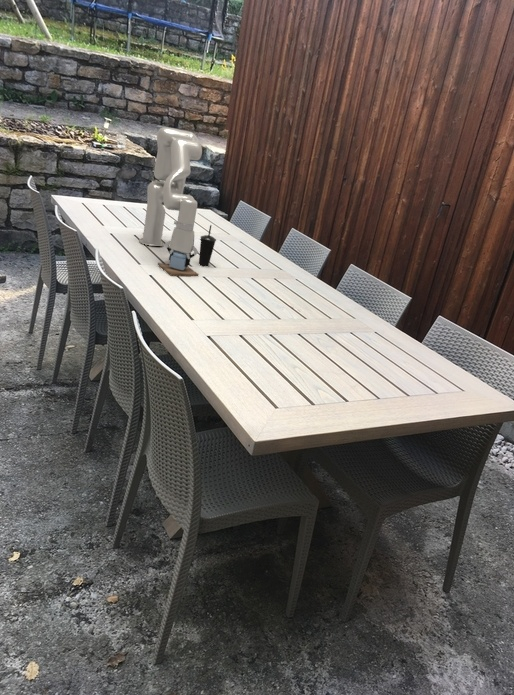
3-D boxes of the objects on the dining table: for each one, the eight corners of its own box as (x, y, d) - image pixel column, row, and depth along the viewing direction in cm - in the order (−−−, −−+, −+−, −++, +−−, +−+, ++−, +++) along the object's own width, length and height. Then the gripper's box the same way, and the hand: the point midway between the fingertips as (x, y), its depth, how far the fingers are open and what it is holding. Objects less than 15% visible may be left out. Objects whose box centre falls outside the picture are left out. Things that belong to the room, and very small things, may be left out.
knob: (169, 266, 265) (171, 251, 263) (174, 263, 272) (176, 248, 269) (183, 270, 265) (185, 254, 262) (187, 267, 271) (190, 251, 268)
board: (157, 265, 270) (158, 263, 270) (184, 266, 278) (185, 264, 278) (170, 276, 260) (170, 273, 259) (198, 276, 268) (198, 274, 267)
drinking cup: (212, 264, 291) (219, 225, 283) (209, 268, 284) (217, 228, 276) (197, 261, 291) (204, 222, 283) (194, 265, 284) (201, 224, 276)
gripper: (164, 223, 258) (158, 261, 265) (201, 232, 257) (194, 271, 263) (169, 220, 265) (163, 257, 272) (205, 230, 263) (199, 267, 270)
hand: (178, 264), depth 268 cm, fingers closed on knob, 6 cm apart
